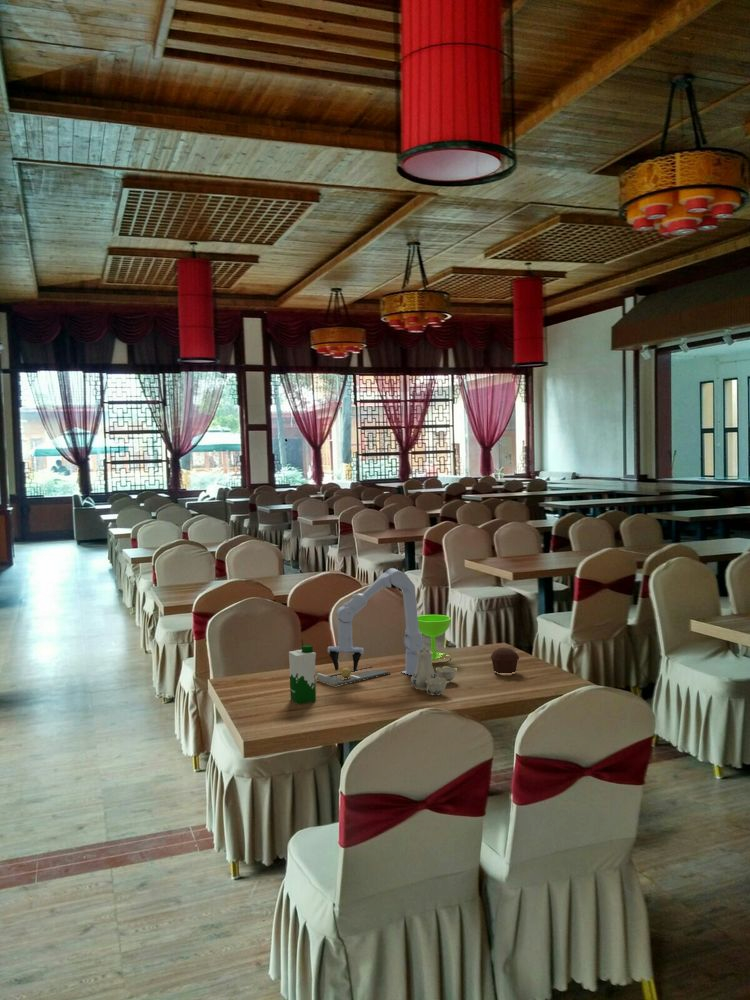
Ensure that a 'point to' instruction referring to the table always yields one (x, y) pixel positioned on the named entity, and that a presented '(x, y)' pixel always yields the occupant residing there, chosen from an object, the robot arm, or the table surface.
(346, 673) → the ball
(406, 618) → the robot arm
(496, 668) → the muffin
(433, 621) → the wineglass
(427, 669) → the chinaware
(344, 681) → the lane mat
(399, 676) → the table surface
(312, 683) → the milk carton
